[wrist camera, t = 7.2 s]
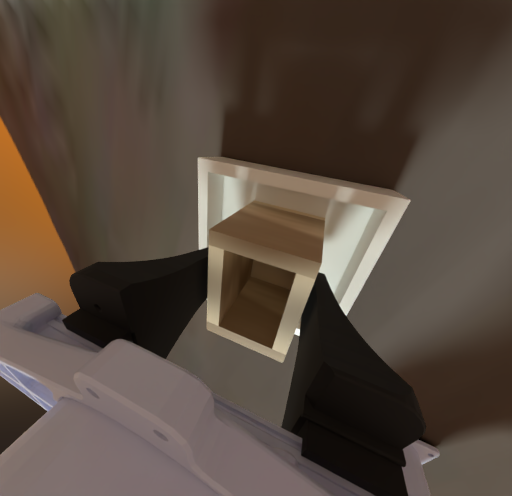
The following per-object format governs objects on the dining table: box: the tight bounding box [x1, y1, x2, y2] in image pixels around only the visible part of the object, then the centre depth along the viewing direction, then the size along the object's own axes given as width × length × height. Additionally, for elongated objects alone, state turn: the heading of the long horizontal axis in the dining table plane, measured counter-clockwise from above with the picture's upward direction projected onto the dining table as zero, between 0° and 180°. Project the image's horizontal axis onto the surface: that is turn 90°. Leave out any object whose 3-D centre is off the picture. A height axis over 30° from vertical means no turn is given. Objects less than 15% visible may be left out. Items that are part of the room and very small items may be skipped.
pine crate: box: [207, 200, 325, 363], centre depth 12 cm, size 7×5×6 cm
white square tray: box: [198, 157, 411, 336], centre depth 14 cm, size 11×11×3 cm
